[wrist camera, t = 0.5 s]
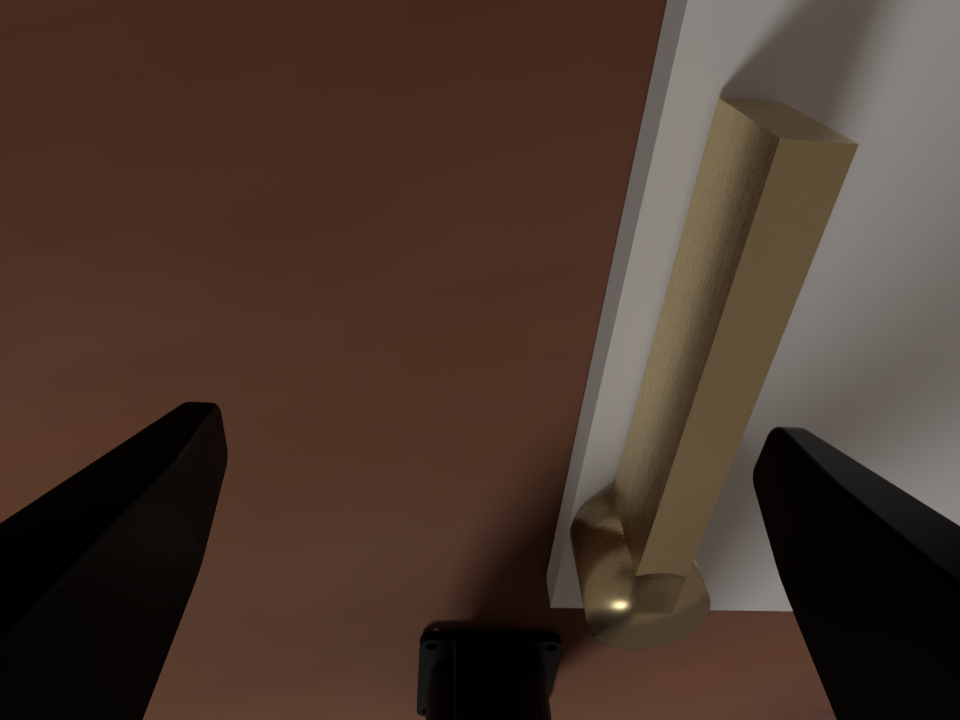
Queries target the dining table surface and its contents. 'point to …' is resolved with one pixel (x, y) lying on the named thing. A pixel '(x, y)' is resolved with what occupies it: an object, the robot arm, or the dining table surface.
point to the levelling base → (831, 277)
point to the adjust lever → (707, 366)
